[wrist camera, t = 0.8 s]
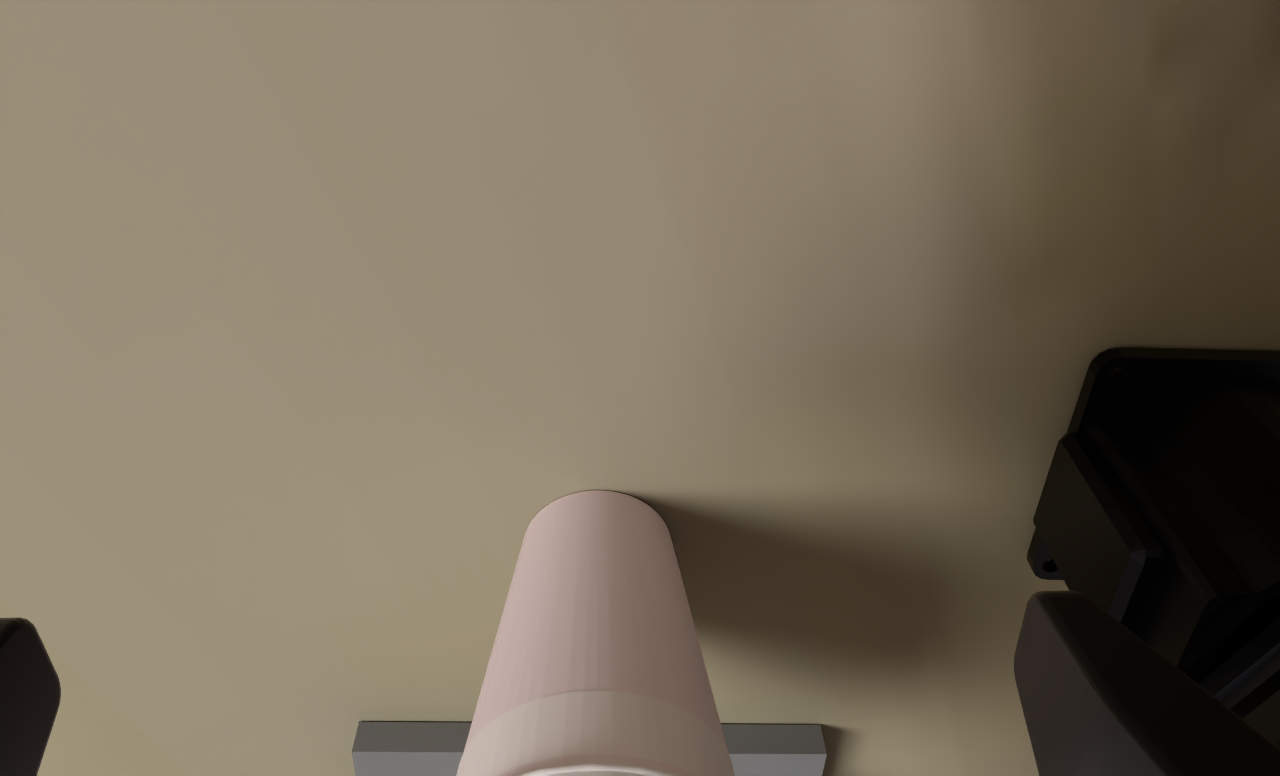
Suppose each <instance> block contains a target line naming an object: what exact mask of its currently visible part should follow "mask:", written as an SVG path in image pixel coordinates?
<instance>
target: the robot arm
mask: <svg viewBox="0 0 1280 776" xmlns="http://www.w3.org/2000/svg"><path fill="white" fill-rule="evenodd" d="M1118 367H1122V368H1121V370H1120V372H1119V373H1117V374H1116V375H1114V376H1111V377H1107V375H1108V374H1109V372H1110V371H1112V370H1113V369H1115V368H1118ZM1033 521H1034V524H1035V526H1036V529H1035V532H1034V535H1033V538H1032V541H1031V544H1030V547H1029V550H1028V553H1027V560H1028V562H1029V564H1030V566H1031V568H1032V570H1033V572H1034V574H1035V575H1036V576H1037V577H1039V578H1041V579H1047V580H1064V581H1065V583H1066V585H1067V587H1068V589H1069V590H1070V591H1040V592H1037V593H1034V594H1033V595H1032V596H1031V597H1030V599H1029V601H1028V604H1027V607H1026V611H1025V615H1024V619H1023V623H1022V627H1021V631H1020V635H1019V639H1018V643H1017V647H1016V651H1015V657H1014V673H1015V680H1016V684H1017V688H1018V692H1019V696H1020V700H1021V704H1022V708H1023V712H1024V716H1025V720H1026V724H1027V728H1028V732H1029V736H1030V740H1031V744H1032V748H1033V752H1034V756H1035V760H1036V764H1037V768H1038V772H1039V776H1280V352H1258V351H1218V350H1178V349H1138V348H1114V349H1108V350H1106V351H1103V352H1101V353H1099V354H1098V355H1097V356H1096V357H1095V358H1094V359H1093V360H1092V362H1091V364H1090V365H1089V367H1088V370H1087V373H1086V376H1085V379H1084V383H1083V386H1082V389H1081V392H1080V395H1079V398H1078V401H1077V404H1076V407H1075V410H1074V413H1073V416H1072V419H1071V422H1070V425H1069V428H1068V431H1067V433H1066V434H1065V435H1064V436H1063V437H1062V438H1061V439H1060V441H1059V442H1058V445H1057V448H1056V451H1055V454H1054V457H1053V460H1052V463H1051V466H1050V469H1049V472H1048V476H1047V479H1046V482H1045V485H1044V488H1043V491H1042V494H1041V497H1040V500H1039V503H1038V506H1037V509H1036V513H1035V516H1034V519H1033ZM1049 558H1053V559H1052V560H1050V561H1045V560H1047V559H1049ZM60 697H61V688H60V682H59V678H58V675H57V673H56V671H55V669H54V667H53V665H52V662H51V660H50V658H49V656H48V654H47V651H46V649H45V647H44V645H43V643H42V641H41V638H40V636H39V634H38V632H37V630H36V628H35V626H34V625H33V624H32V623H31V622H30V621H28V620H27V619H23V618H0V776H37V773H38V770H39V767H40V764H41V761H42V758H43V754H44V751H45V748H46V745H47V742H48V739H49V736H50V733H51V730H52V727H53V724H54V721H55V717H56V714H57V711H58V708H59V704H60Z"/></svg>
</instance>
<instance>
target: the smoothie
mask: <svg viewBox="0 0 1280 776" xmlns="http://www.w3.org/2000/svg"><path fill="white" fill-rule="evenodd" d="M456 776H735V773H734V769H733V765H732V762H731V758H730V756H729V753H728V749H727V746H726V742H725V738H724V734H723V731H722V727H721V723H720V719H719V716H718V712H717V708H716V704H715V701H714V697H713V693H712V689H711V686H710V682H709V678H708V674H707V671H706V667H705V663H704V660H703V656H702V652H701V648H700V645H699V641H698V637H697V633H696V630H695V626H694V622H693V618H692V615H691V611H690V607H689V603H688V600H687V596H686V592H685V588H684V585H683V581H682V577H681V573H680V570H679V566H678V562H677V558H676V555H675V551H674V547H673V543H672V540H671V536H670V532H669V530H668V527H667V526H666V524H665V522H664V521H663V519H662V518H661V517H660V515H659V514H658V513H657V512H656V511H655V510H654V509H652V508H651V507H650V506H648V505H647V504H646V503H644V502H642V501H640V500H638V499H636V498H634V497H632V496H629V495H626V494H622V493H618V492H613V491H602V490H593V491H583V492H578V493H573V494H570V495H567V496H564V497H561V498H559V499H557V500H555V501H553V502H552V503H550V504H549V505H547V506H546V507H544V508H543V509H542V510H541V511H540V512H539V513H538V514H537V515H536V516H535V517H534V518H533V520H532V521H531V523H530V524H529V526H528V528H527V530H526V533H525V537H524V540H523V544H522V547H521V551H520V554H519V558H518V561H517V565H516V568H515V572H514V576H513V579H512V583H511V586H510V590H509V593H508V597H507V600H506V604H505V607H504V611H503V614H502V618H501V621H500V625H499V629H498V632H497V636H496V639H495V643H494V646H493V650H492V653H491V657H490V660H489V664H488V667H487V671H486V674H485V678H484V682H483V685H482V689H481V692H480V696H479V699H478V703H477V706H476V710H475V713H474V717H473V720H472V724H471V727H470V731H469V735H468V738H467V742H466V745H465V749H464V752H463V756H462V758H461V760H460V764H459V767H458V771H457V775H456Z"/></svg>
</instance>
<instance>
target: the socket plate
mask: <svg viewBox="0 0 1280 776" xmlns="http://www.w3.org/2000/svg"><path fill="white" fill-rule="evenodd" d="M471 724H472V723H459V722H359V725H358V729H357V733H356V737H355V741H354V745H353V749H352V756H353V762H354V768H355V774H356V776H456V775H457V771H458V767H459V764H460V760H461V758H462V756H463V752H464V749H465V745H466V742H467V738H468V735H469V731H470V727H471ZM721 727H722V731H723V734H724V738H725V742H726V746H727V749H728V753H729V756H730V758H731V762H732V765H733V769H734V773H735V776H822V774H823V769H824V765H825V760H826V756H827V753H826V748H825V744H824V739H823V734H822V730H821V725H760V724H721Z"/></svg>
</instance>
